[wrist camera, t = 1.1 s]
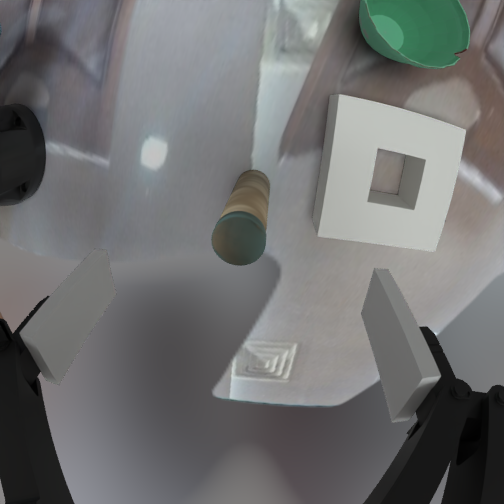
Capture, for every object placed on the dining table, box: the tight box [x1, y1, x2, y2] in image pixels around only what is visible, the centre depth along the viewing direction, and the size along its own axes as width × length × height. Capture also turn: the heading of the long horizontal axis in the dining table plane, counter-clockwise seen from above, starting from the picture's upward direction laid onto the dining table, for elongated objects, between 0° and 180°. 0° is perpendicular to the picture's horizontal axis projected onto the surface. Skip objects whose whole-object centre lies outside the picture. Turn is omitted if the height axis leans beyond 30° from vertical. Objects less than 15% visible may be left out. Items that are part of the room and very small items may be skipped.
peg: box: [211, 170, 270, 265], centre depth 27 cm, size 4×4×14 cm
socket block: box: [312, 94, 466, 252], centre depth 28 cm, size 14×14×5 cm
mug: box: [359, 0, 470, 69], centre depth 18 cm, size 15×10×10 cm
